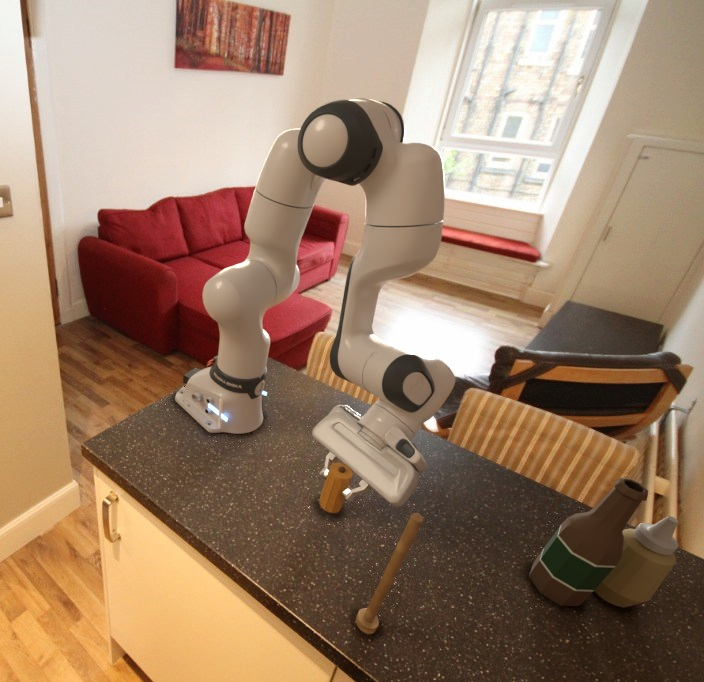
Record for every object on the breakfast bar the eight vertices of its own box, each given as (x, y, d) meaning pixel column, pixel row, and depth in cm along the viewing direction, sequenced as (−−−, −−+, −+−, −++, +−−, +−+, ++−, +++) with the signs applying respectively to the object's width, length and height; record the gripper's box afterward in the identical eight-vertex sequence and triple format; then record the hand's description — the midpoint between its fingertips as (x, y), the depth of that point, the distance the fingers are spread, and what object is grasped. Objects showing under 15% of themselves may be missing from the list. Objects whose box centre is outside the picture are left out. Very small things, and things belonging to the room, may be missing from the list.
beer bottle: (516, 573, 77) (588, 472, 65) (544, 558, 80) (618, 460, 68) (564, 616, 71) (653, 514, 59) (592, 599, 73) (682, 498, 62)
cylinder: (315, 504, 85) (327, 467, 80) (325, 492, 88) (337, 455, 83) (334, 516, 83) (347, 479, 78) (344, 504, 86) (358, 467, 81)
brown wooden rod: (352, 623, 67) (401, 516, 55) (360, 609, 69) (409, 503, 57) (371, 638, 65) (426, 531, 54) (379, 623, 67) (434, 517, 56)
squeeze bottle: (622, 622, 70) (694, 550, 62) (568, 577, 77) (626, 505, 68) (649, 604, 73) (721, 533, 65) (595, 562, 80) (654, 491, 71)
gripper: (335, 394, 88) (289, 447, 88) (429, 462, 73) (373, 526, 73) (345, 406, 92) (301, 456, 92) (435, 472, 77) (383, 532, 78)
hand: (333, 487), depth 83 cm, fingers closed on cylinder, 4 cm apart
